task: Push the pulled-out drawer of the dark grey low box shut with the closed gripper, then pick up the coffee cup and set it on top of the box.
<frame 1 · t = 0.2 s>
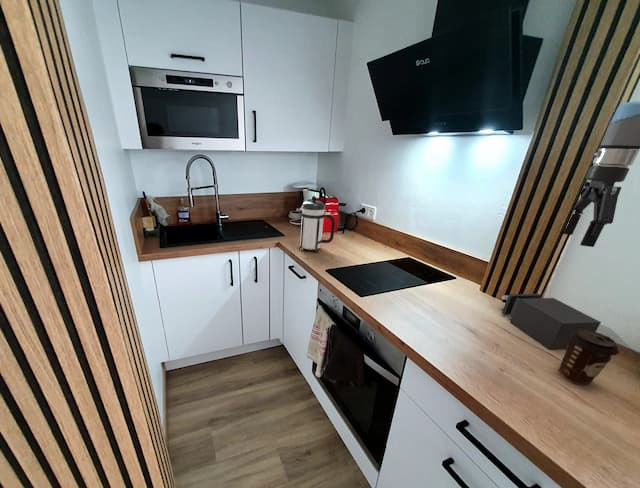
hand: (575, 239, 87), 31 cm above the worktop, tool pointing down, fingers open, 13 cm apart
coffee cup: (573, 377, 76), on the worktop
coffee press: (312, 249, 165), on the worktop
dark grey low box: (545, 334, 94), on the worktop
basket: (530, 310, 99), point 5 cm above the worktop, slide at 3.5 cm
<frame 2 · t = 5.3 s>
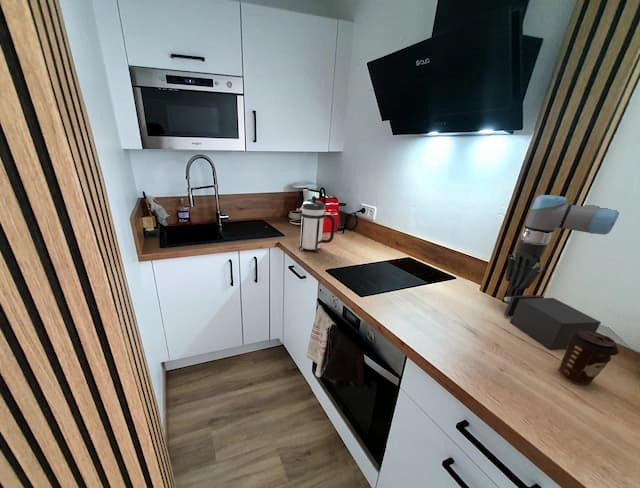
hand: (509, 301, 107), 3 cm above the worktop, tool pointing down, fingers closed
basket: (533, 311, 98), point 5 cm above the worktop, slide at 2.4 cm, touching gripper
everything else where it was.
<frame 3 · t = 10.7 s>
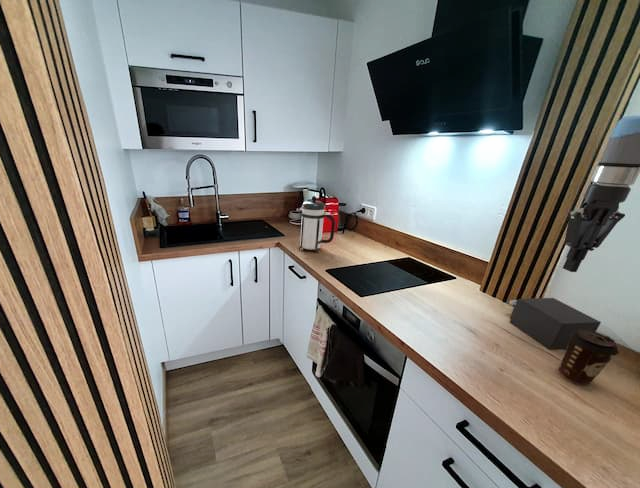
hand: (569, 270, 81), 24 cm above the worktop, tool pointing down, fingers closed
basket: (540, 315, 95), point 5 cm above the worktop, slide at 0.0 cm, touching dark grey low box
everything else where it was.
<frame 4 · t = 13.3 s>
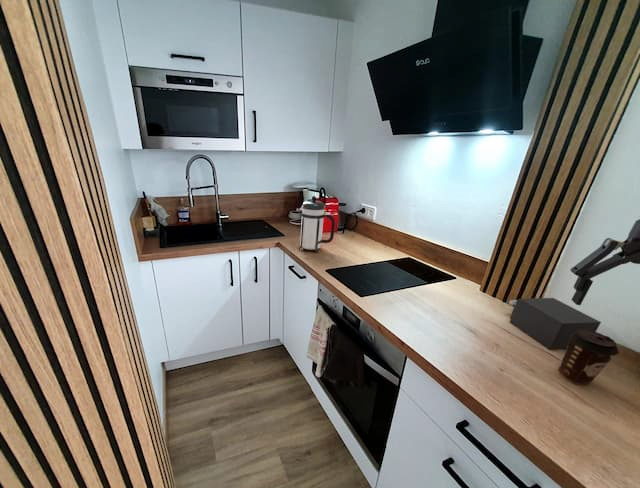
hand: (612, 309, 68), 21 cm above the worktop, tool pointing down, fingers open, 13 cm apart
nothing on the worktop moved.
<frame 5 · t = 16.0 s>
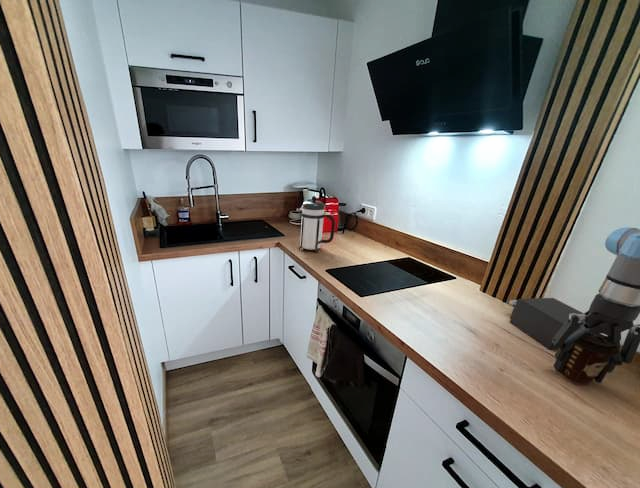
hand: (575, 374, 76), 1 cm above the worktop, tool pointing down, fingers closed on coffee cup, 7 cm apart
coffee cup: (573, 377, 76), on the worktop, touching gripper
everything else where it was.
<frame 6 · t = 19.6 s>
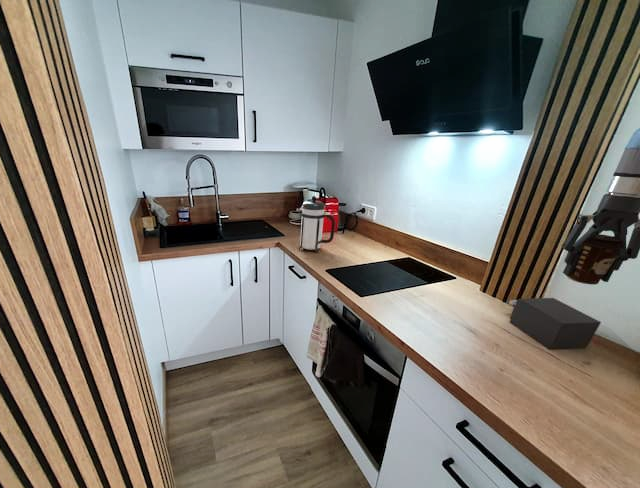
hand: (584, 277, 81), 23 cm above the worktop, tool pointing down, fingers closed on coffee cup, 7 cm apart
coffee cup: (582, 281, 81), point 22 cm above the worktop, touching gripper
everything else where it was.
when the fingers open (11 cm above the worktop, at t = 23.3 s): coffee cup stays where it is, resting on dark grey low box.
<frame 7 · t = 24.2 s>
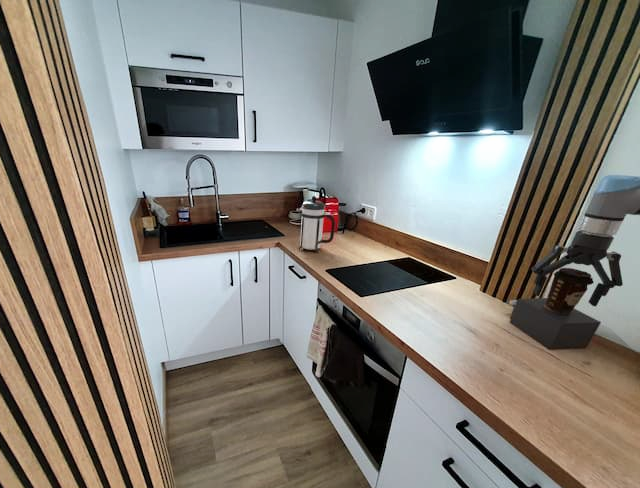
hand: (563, 299, 88), 13 cm above the worktop, tool pointing down, fingers open, 13 cm apart
coffee cup: (557, 310, 90), point 9 cm above the worktop, touching dark grey low box
everything else where it was.
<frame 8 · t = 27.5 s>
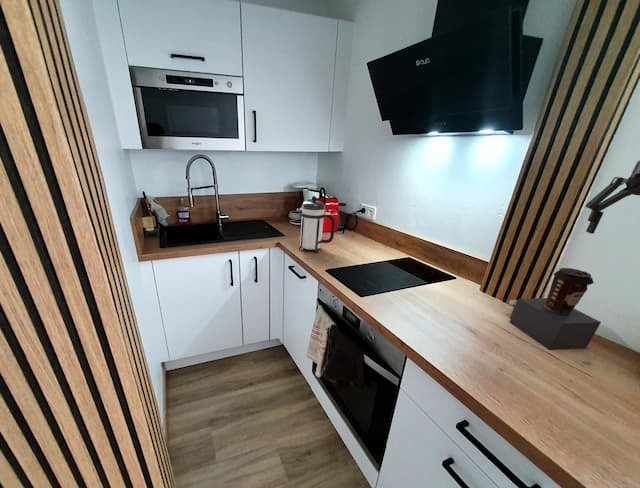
hand: (619, 235, 85), 33 cm above the worktop, tool pointing down, fingers open, 13 cm apart
nothing on the worktop moved.
at the end: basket slide at 0.0 cm; coffee cup inside the target area on the dark grey low box (0.0 cm from its centre), point 9.4 cm above the dark grey low box's base; coffee cup tilted 0° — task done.
